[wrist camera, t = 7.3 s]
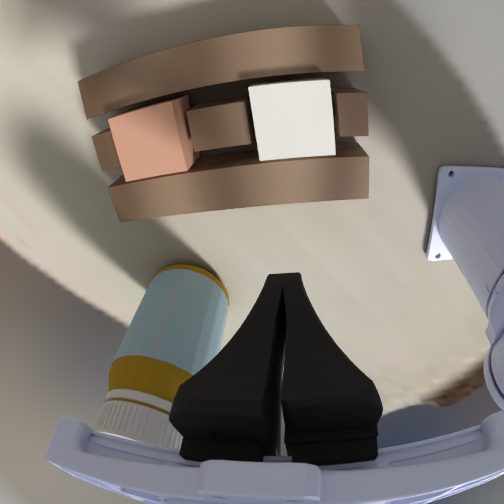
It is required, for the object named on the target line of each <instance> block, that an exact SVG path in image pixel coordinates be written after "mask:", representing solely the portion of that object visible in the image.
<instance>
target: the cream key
mask: <svg viewBox="0 0 504 504" xmlns="http://www.w3.org/2000/svg"><path fill="white" fill-rule="evenodd" d="M248 90H249V96H250V102H251V109H252V115H253V121H254V128H255V134H256V140H257V147H258V153H259V160H260V161H265V160H275V159H286V158H298V157H311V156H327V155H336V151H335V135H334V121H333V109H332V98H331V88H330V80H328V79H326V78H323V77H318V78H302V79H290V80H279V81H269V82H261V83H253V84H252V85H250V86H249V87H248Z"/></svg>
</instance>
